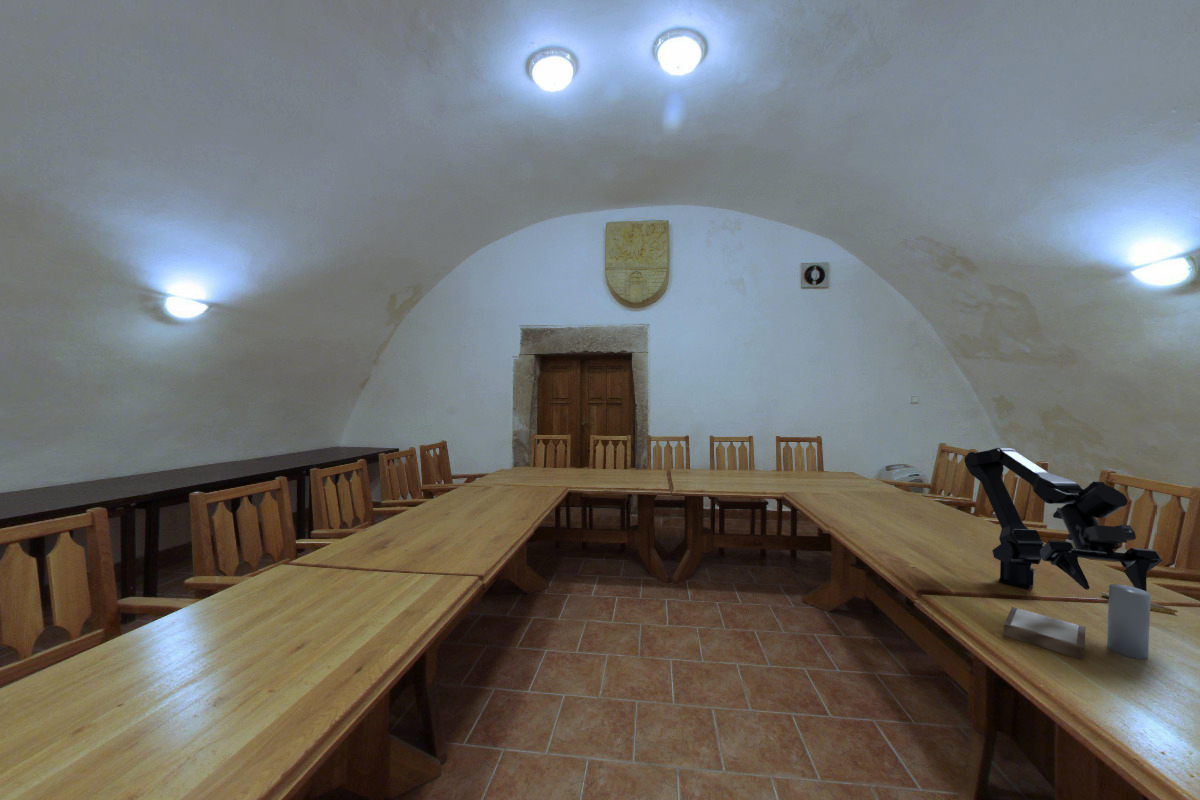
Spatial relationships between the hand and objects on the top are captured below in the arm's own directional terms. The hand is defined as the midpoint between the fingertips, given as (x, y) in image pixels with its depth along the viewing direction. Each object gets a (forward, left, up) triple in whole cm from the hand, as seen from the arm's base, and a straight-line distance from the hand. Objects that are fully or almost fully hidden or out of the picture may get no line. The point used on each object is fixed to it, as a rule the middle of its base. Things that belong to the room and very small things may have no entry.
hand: (1115, 592), depth 97 cm
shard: (+4, +31, -11) cm, 34 cm away
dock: (-10, -9, -11) cm, 17 cm away
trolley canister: (+2, -4, -11) cm, 11 cm away
